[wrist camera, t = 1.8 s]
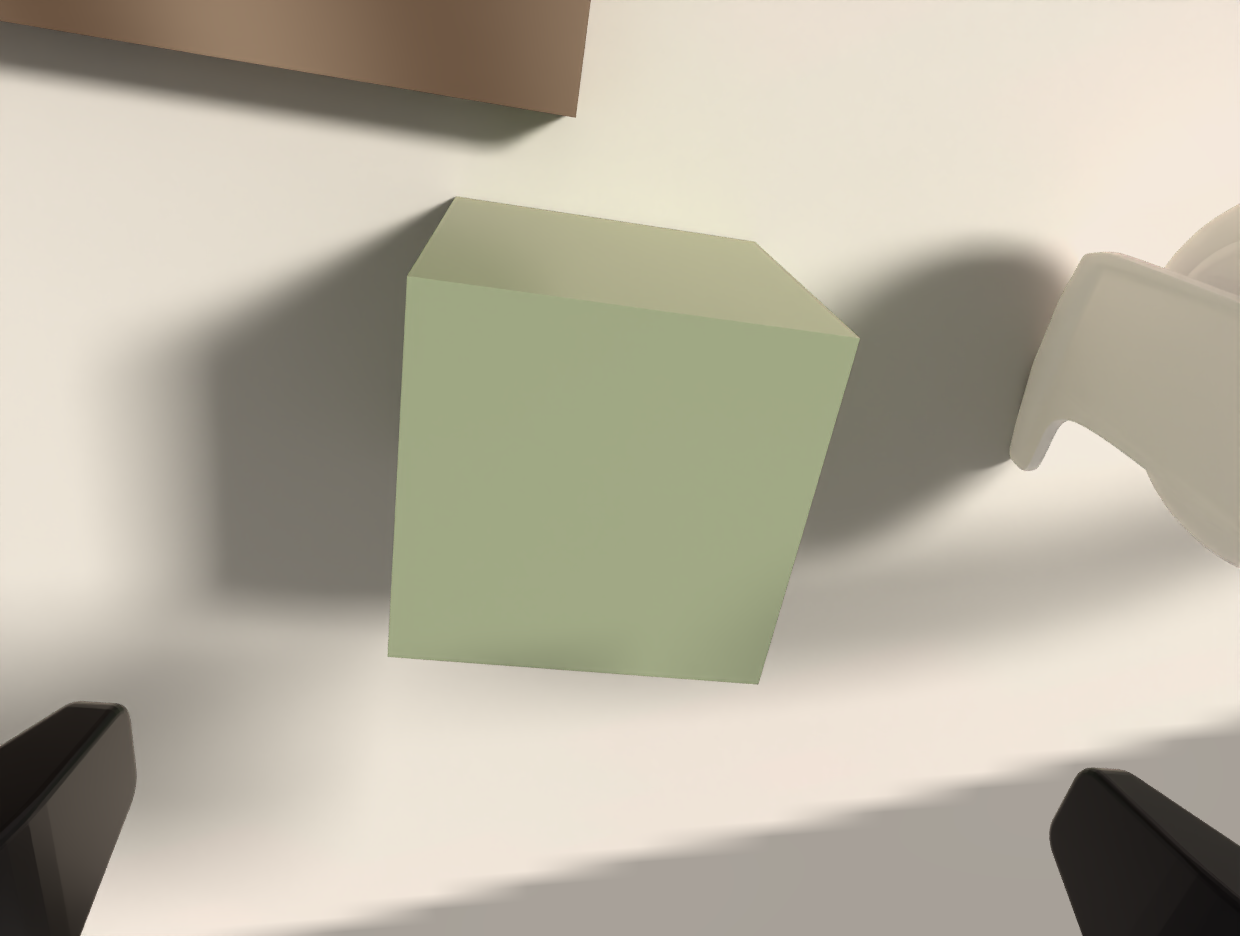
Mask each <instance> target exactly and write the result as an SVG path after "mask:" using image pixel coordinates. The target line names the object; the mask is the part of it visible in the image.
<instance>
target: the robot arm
mask: <svg viewBox="0 0 1240 936" xmlns="http://www.w3.org/2000/svg"><path fill="white" fill-rule="evenodd" d="M136 778H137V774H136V763H135V755H134V746H133V737H132V729H131V720H130V715H129V712H128V711H127V709H126V708H125V707H124V706H123V705H120V704H116V703H101V702H86V701H78V702H73V703H70V704H68V705H66V706H64V707H62V708H60V709H59V710H57V711H55V712H54V713H52V714H51V715H49V716H47V717H46V718H44V719H43V720H41V721H39V722H38V723H36V724H35V725H33V726H31V727H30V728H28V729H27V730H25V731H23V732H22V733H20V734H19V735H17V736H15V737H14V738H12V739H11V740H9V741H7V742H6V743H4V744H3V745H1V746H0V936H80V935H81V933H82V930H83V928H84V925H85V922H86V920H87V917H88V915H89V912H90V909H91V907H92V904H93V902H94V899H95V896H96V894H97V891H98V889H99V886H100V884H101V881H102V878H103V876H104V873H105V871H106V868H107V865H108V863H109V860H110V858H111V855H112V852H113V850H114V847H115V845H116V842H117V839H118V837H119V834H120V832H121V829H122V827H123V824H124V821H125V819H126V816H127V814H128V811H129V808H130V806H131V803H132V800H133V796H134V793H135V787H136ZM1049 835H1050V836H1049V839H1050V845H1051V850H1052V853H1053V855H1054V858H1055V861H1056V864H1057V867H1058V869H1059V872H1060V875H1061V877H1062V880H1063V883H1064V886H1065V888H1066V891H1067V894H1068V896H1069V899H1070V902H1071V905H1072V908H1073V911H1074V913H1075V916H1076V919H1077V922H1078V924H1079V927H1080V930H1081V932H1082V935H1083V936H1240V846H1239V845H1238V844H1236V843H1235V842H1233V841H1232V840H1230V839H1229V838H1227V837H1226V836H1224V835H1223V834H1221V833H1220V832H1218V831H1217V830H1215V829H1214V828H1212V827H1211V826H1209V825H1208V824H1206V823H1205V822H1203V821H1202V820H1200V819H1199V818H1197V817H1196V816H1194V815H1193V814H1191V813H1190V812H1188V811H1187V810H1185V809H1184V808H1182V807H1181V806H1179V805H1178V804H1176V803H1175V802H1174V801H1172V800H1171V799H1169V798H1168V797H1166V796H1165V795H1163V794H1162V793H1160V792H1159V791H1157V790H1156V789H1154V788H1153V787H1151V786H1150V785H1148V784H1147V783H1145V782H1144V781H1142V780H1141V779H1139V778H1138V777H1136V776H1134V775H1133V774H1131V773H1129V772H1127V771H1124V770H1120V769H1108V768H1086V769H1084V770H1082V771H1081V772H1079V773H1078V774H1077V776H1076V777H1075V779H1074V781H1073V783H1072V785H1071V786H1070V788H1069V790H1068V792H1067V794H1066V796H1065V797H1064V799H1063V801H1062V803H1061V805H1060V807H1059V809H1058V811H1057V813H1056V814H1055V816H1054V818H1053V820H1052V822H1051V825H1050V831H1049Z"/></svg>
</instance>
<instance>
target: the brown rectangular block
mask: <svg viewBox="0 0 1240 936" xmlns="http://www.w3.org/2000/svg"><path fill="white" fill-rule="evenodd" d="M590 2H591V0H0V21H4V22H10V23H16V24H22V25H28V26H34V27H40V28H46V29H52V30H58V31H64V32H70V33H76V34H82V35H88V36H93V37H99V38H105V39H111V40H117V41H123V42H129V43H135V44H141V45H147V46H153V47H159V48H165V49H171V50H177V51H183V52H189V53H195V54H200V55H206V56H212V57H218V58H224V59H230V60H236V61H242V62H248V63H254V64H260V65H266V66H272V67H278V68H284V69H290V70H296V71H302V72H307V73H313V74H319V75H325V76H331V77H337V78H343V79H349V80H355V81H361V82H367V83H373V84H379V85H385V86H391V87H397V88H403V89H409V90H414V91H420V92H426V93H432V94H438V95H444V96H450V97H456V98H462V99H468V100H474V101H480V102H486V103H492V104H498V105H504V106H510V107H516V108H521V109H527V110H533V111H539V112H545V113H551V114H557V115H563V116H569V117H575V118H576V111H577V103H578V96H579V88H580V80H581V72H582V64H583V56H584V49H585V41H586V33H587V25H588V17H589V9H590Z"/></svg>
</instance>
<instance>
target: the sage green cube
mask: <svg viewBox="0 0 1240 936" xmlns="http://www.w3.org/2000/svg"><path fill="white" fill-rule="evenodd" d="M859 341H860V338H859V337H858V336H857V335H856V334H855V333H854V332H853V331H852V330H851V329H850V328H848V327H847V326H846V325H845V324H844V323H843V322H842V321H841V320H840V319H839V318H838V317H836V316H835V315H834V314H833V313H832V312H831V311H830V310H829V309H828V308H827V307H825V306H824V305H823V304H822V303H821V302H820V301H819V300H818V299H817V298H816V297H815V296H813V295H812V294H811V293H810V292H809V291H808V290H807V289H806V288H805V287H804V286H803V285H801V284H800V283H799V282H798V281H797V280H796V279H795V278H794V277H793V276H792V275H791V274H789V273H788V272H787V271H786V270H785V269H784V268H783V267H782V266H781V265H780V264H779V263H777V262H776V261H775V260H774V259H773V258H772V257H771V256H770V255H769V254H768V253H767V252H765V251H764V250H763V249H762V248H761V247H760V246H759V245H758V244H757V243H756V242H752V241H746V240H739V239H733V238H726V237H719V236H713V235H706V234H700V233H693V232H686V231H680V230H673V229H667V228H660V227H654V226H647V225H640V224H634V223H627V222H621V221H614V220H607V219H601V218H594V217H588V216H581V215H574V214H568V213H561V212H555V211H548V210H542V209H535V208H528V207H522V206H515V205H509V204H502V203H495V202H489V201H482V200H476V199H469V198H462V197H455V199H454V200H453V202H452V203H451V205H450V207H449V208H448V210H447V212H446V213H445V215H444V217H443V218H442V220H441V221H440V223H439V225H438V226H437V228H436V230H435V231H434V233H433V234H432V236H431V238H430V239H429V241H428V243H427V244H426V246H425V247H424V249H423V251H422V252H421V254H420V256H419V257H418V259H417V261H416V262H415V264H414V265H413V267H412V269H411V270H410V272H409V274H408V275H407V286H406V306H405V326H404V345H403V365H402V384H401V404H400V424H399V443H398V463H397V483H396V502H395V522H394V542H393V561H392V581H391V600H390V620H389V640H388V657H397V658H410V659H424V660H437V661H451V662H464V663H477V664H491V665H504V666H518V667H531V668H545V669H558V670H571V671H585V672H598V673H612V674H625V675H638V676H652V677H665V678H679V679H692V680H706V681H719V682H732V683H746V684H758V683H759V680H760V677H761V673H762V670H763V667H764V663H765V660H766V656H767V653H768V650H769V646H770V643H771V639H772V636H773V633H774V629H775V626H776V622H777V619H778V616H779V612H780V609H781V605H782V602H783V599H784V595H785V592H786V588H787V585H788V582H789V578H790V575H791V571H792V568H793V565H794V561H795V558H796V554H797V551H798V548H799V544H800V541H801V538H802V534H803V531H804V527H805V524H806V521H807V517H808V514H809V510H810V507H811V504H812V500H813V497H814V493H815V490H816V487H817V483H818V480H819V476H820V473H821V470H822V466H823V463H824V459H825V456H826V453H827V449H828V446H829V442H830V439H831V436H832V432H833V429H834V425H835V422H836V419H837V415H838V412H839V409H840V405H841V402H842V398H843V395H844V392H845V388H846V385H847V381H848V378H849V375H850V371H851V368H852V364H853V361H854V358H855V354H856V351H857V347H858V344H859Z"/></svg>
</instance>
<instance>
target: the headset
mask: <svg viewBox="0 0 1240 936" xmlns="http://www.w3.org/2000/svg"><path fill="white" fill-rule="evenodd" d="M1068 420H1069V421H1073V422H1076V423H1078V424H1080V425H1082V426H1084V427H1086V428H1087V429H1089V430H1091V431H1092V432H1094V433H1096V434H1097V435H1099V436H1100V437H1102V438H1103V439H1105V440H1106V441H1107V442H1109V443H1110V444H1112V445H1113V446H1115V447H1116V448H1117V449H1119V450H1120V451H1121V452H1123V453H1124V454H1126V455H1127V456H1128V457H1130V458H1131V459H1132V460H1134V461H1135V462H1136V463H1137V464H1139V465H1140V466H1141V467H1143V468H1144V469H1145V470H1146V472H1147V474H1148V476H1149V478H1150V480H1151V482H1152V484H1153V486H1154V488H1155V490H1156V491H1157V493H1158V495H1159V496H1160V498H1161V499H1162V501H1163V502H1164V504H1165V505H1166V507H1167V508H1168V509H1169V511H1170V512H1171V513H1172V515H1173V516H1174V517H1175V518H1176V519H1177V521H1178V522H1179V523H1180V524H1181V525H1182V526H1183V527H1184V528H1185V529H1186V530H1187V531H1188V532H1189V533H1190V534H1191V535H1192V536H1193V537H1194V538H1196V539H1197V540H1198V541H1199V542H1200V543H1201V544H1202V545H1204V546H1205V547H1206V548H1207V549H1209V550H1210V551H1211V552H1213V553H1214V554H1216V555H1217V556H1219V557H1220V558H1222V559H1224V560H1225V561H1227V562H1229V563H1230V564H1232V565H1234V566H1236V567H1238V568H1240V204H1238V205H1236V206H1234V207H1232V208H1231V209H1229V210H1227V211H1226V212H1224V213H1222V214H1220V215H1219V216H1217V217H1216V218H1214V219H1213V220H1211V221H1210V222H1209V223H1207V224H1206V225H1204V226H1203V227H1202V228H1201V229H1200V230H1198V231H1197V232H1196V233H1195V234H1194V235H1193V236H1192V237H1191V238H1190V239H1189V240H1188V241H1187V242H1186V243H1185V244H1184V245H1183V246H1182V247H1181V248H1180V249H1179V250H1178V251H1177V252H1176V253H1175V254H1174V256H1173V257H1172V258H1171V259H1170V261H1169V262H1168V263H1167V265H1166V266H1165V267H1164V268H1162V267H1160V266H1157V265H1154V264H1151V263H1149V262H1146V261H1143V260H1140V259H1137V258H1134V257H1131V256H1128V255H1125V254H1121V253H1116V252H1097V253H1088V254H1085V255H1084V256H1083V257H1082V259H1081V261H1080V262H1079V264H1078V266H1077V268H1076V270H1075V271H1074V273H1073V275H1072V277H1071V279H1070V280H1069V282H1068V284H1067V286H1066V288H1065V290H1064V291H1063V293H1062V295H1061V297H1060V299H1059V301H1058V304H1057V306H1056V309H1055V311H1054V313H1053V316H1052V318H1051V321H1050V323H1049V326H1048V328H1047V331H1046V333H1045V335H1044V338H1043V340H1042V343H1041V345H1040V347H1039V350H1038V352H1037V355H1036V357H1035V360H1034V362H1033V365H1032V368H1031V372H1030V375H1029V379H1028V382H1027V386H1026V389H1025V392H1024V396H1023V399H1022V403H1021V406H1020V410H1019V413H1018V416H1017V420H1016V424H1015V428H1014V432H1013V436H1012V441H1011V445H1010V450H1009V454H1010V458H1011V459H1012V461H1013V462H1014V463H1015V464H1016V465H1017V466H1018V467H1019V468H1020V469H1021V470H1024V471H1032V470H1035V469H1037V468H1038V467H1039V465H1040V464H1041V462H1042V460H1043V458H1044V456H1045V454H1046V452H1047V450H1048V448H1049V446H1050V444H1051V441H1052V439H1053V437H1054V435H1055V433H1056V432H1057V430H1058V428H1059V427H1060V426H1061V425H1062V424H1063V423H1064V422H1066V421H1068Z"/></svg>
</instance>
